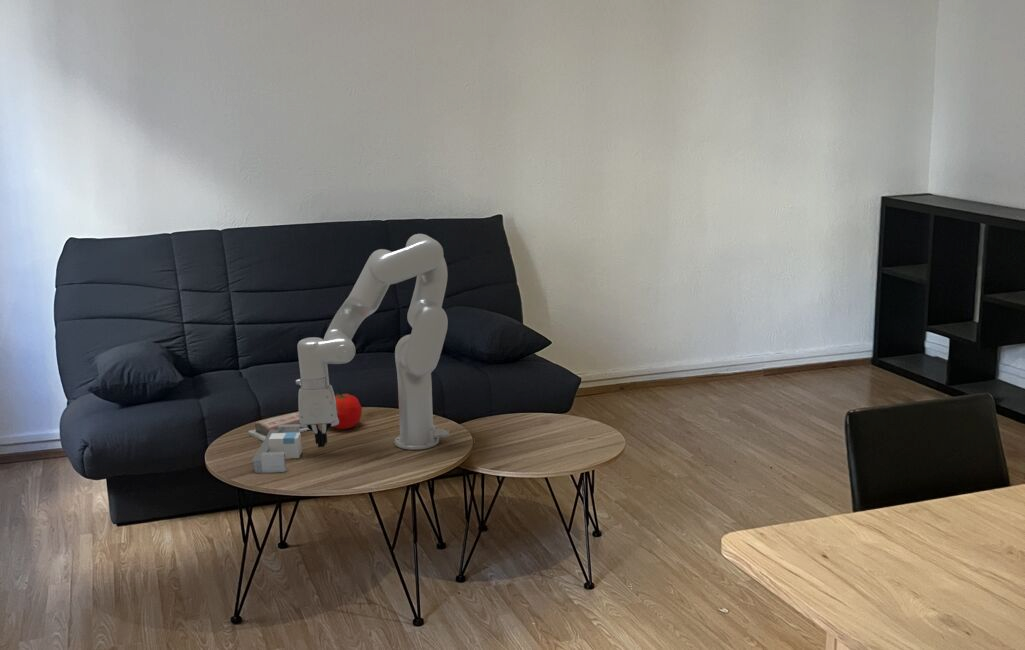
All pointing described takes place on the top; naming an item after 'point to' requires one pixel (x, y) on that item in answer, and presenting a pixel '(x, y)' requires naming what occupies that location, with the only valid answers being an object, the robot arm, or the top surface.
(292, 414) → the packaged product
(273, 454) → the rail
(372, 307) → the robot arm
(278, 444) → the block
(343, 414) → the tomato
